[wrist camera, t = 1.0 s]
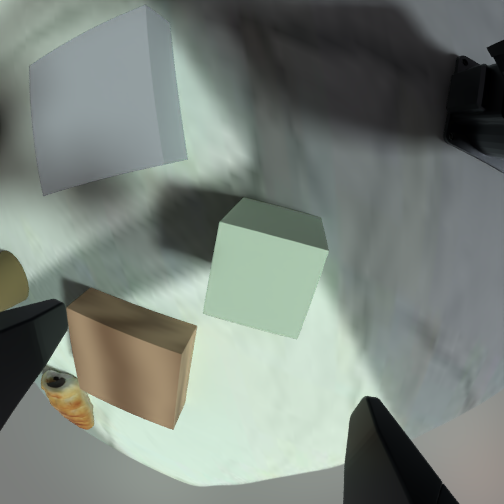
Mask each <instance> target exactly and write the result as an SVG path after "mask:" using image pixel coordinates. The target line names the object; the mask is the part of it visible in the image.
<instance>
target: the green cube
mask: <svg viewBox="0 0 504 504" xmlns="http://www.w3.org/2000/svg"><path fill="white" fill-rule="evenodd" d="M328 252H329V249H328V245H327V240H326V236H325V232H324V228H323V224H322V220H321V218H320V217H317V216H313V215H309V214H306V213H302V212H298V211H295V210H291V209H287V208H284V207H280V206H276V205H272V204H268V203H265V202H261V201H257V200H253V199H249V198H245V197H243V198H242V199H241V200H240V201H239V202H238V203H237V204H236V205H235V206H234V207H233V209H232V210H231V211H230V212H229V213H228V214H227V215H226V216H225V217H224V218H223V219H222V220H221V221H220V223H219V228H218V233H217V238H216V243H215V248H214V254H213V259H212V265H211V270H210V275H209V281H208V287H207V292H206V298H205V304H204V310H203V314H206V315H209V316H213V317H216V318H219V319H223V320H226V321H230V322H233V323H237V324H240V325H244V326H248V327H251V328H255V329H259V330H262V331H266V332H270V333H274V334H278V335H282V336H286V337H290V338H294V339H297V338H298V336H299V333H300V330H301V328H302V325H303V322H304V320H305V317H306V315H307V312H308V309H309V306H310V304H311V301H312V298H313V295H314V293H315V290H316V287H317V284H318V281H319V279H320V276H321V273H322V270H323V267H324V264H325V261H326V258H327V255H328Z"/></svg>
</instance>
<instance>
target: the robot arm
mask: <svg viewBox="0 0 504 504" xmlns="http://www.w3.org/2000/svg"><path fill="white" fill-rule="evenodd" d="M487 49H488V51H489V53H490V55H491V57H494V59H495V61H496V64H492V65H489V66H488V65H486V64H482V65H480V64H478V63H476V62H475V61H473V60H471V59H470V58H468V57H466V56H460V57H458V58H457V60H456V67H455V74H453V75H452V77H451V84H450V90H449V95H448V101H447V106H446V108H447V111H448V115H447V120H446V125H445V129H444V134H443V137H444V140H445V141H446V142H447V143H448V144H450V145H452V146H454V147H456V148H458V149H460V150H462V151H464V152H466V153H468V154H470V155H472V156H474V157H476V158H478V159H480V160H481V161H483V162H485V163H487V164H489V165H490V166H492V167H494V168H496V169H497V170H499V171H501V172H503V173H504V40H502V41H500V42H498V43H496V44H493V45H491V46H489V47H487ZM462 60H463V61H464V62H465V65H463V63H462ZM450 133H451V134H452V135H453V139H452V140H451V139H450V138H449V134H450ZM67 329H68V319H67V312H66V306H65V304H64V303H63V302H61V301H59V300H57V299H50V300H46V301H42V302H38V303H34V304H30V305H26V306H22V307H18V308H14V309H10V310H6V311H2V312H0V431H1V429H2V428H3V426H4V425H5V423H6V422H7V420H8V418H9V417H10V415H11V414H12V412H13V411H14V409H15V408H16V407H17V405H18V404H19V402H20V401H21V399H22V398H23V396H24V395H25V394H26V392H27V391H28V389H29V388H30V386H31V385H32V384H33V382H34V381H35V380H36V378H37V377H38V375H39V374H40V373H41V371H42V370H43V369H44V367H45V366H46V364H47V362H48V361H49V359H50V357H51V356H52V354H53V352H54V351H55V349H56V348H57V346H58V344H59V343H60V341H61V339H62V338H63V336H64V335H65V333H66V331H67ZM343 499H344V500H343V504H459V503H458V501H456V499H455V498H454V496H453V495H452V494H451V493H450V491H449V490H448V489H447V487H446V486H445V485H444V484H442V481H441V479H440V478H439V477H438V475H437V474H436V473H435V471H434V470H433V469H432V467H431V466H430V465H429V464H428V462H427V461H426V460H425V458H424V457H423V456H422V454H421V453H420V452H419V450H418V449H417V448H416V446H415V445H414V444H413V442H412V441H411V440H410V439H409V437H408V436H407V435H406V433H405V432H404V431H403V429H402V428H401V427H400V425H399V424H398V423H397V421H396V420H395V419H394V418H393V416H392V415H391V414H390V412H389V411H388V410H387V408H386V407H385V406H384V405H383V403H382V402H381V401H380V399H378V398H376V397H370V396H365V397H363V398H362V400H361V401H360V403H359V404H358V405H357V407H356V408H355V410H354V411H353V413H352V414H351V417H350V421H349V431H348V440H347V448H346V456H345V465H344V498H343Z"/></svg>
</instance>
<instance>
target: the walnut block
mask: <svg viewBox="0 0 504 504" xmlns="http://www.w3.org/2000/svg"><path fill="white" fill-rule="evenodd" d="M66 309H67V318H68V326H69V333H70V339H71V346H72V352H73V357H74V363H75V368H76V373H77V377H78V382H79V387H80V389H81V390H83V391H85V392H87V393H89V394H91V395H93V396H95V397H97V398H99V399H101V400H103V401H105V402H107V403H109V404H111V405H113V406H116V407H118V408H120V409H122V410H125V411H127V412H129V413H131V414H134V415H136V416H139V417H141V418H143V419H146V420H148V421H151V422H154V423H156V424H159V425H161V426H164V427H167V428H170V429H172V430H173V429H174V427H175V425H176V422H177V420H178V418H179V415H180V413H181V411H182V409H183V406H184V404H185V400H186V393H187V386H188V380H189V373H190V367H191V360H192V354H193V348H194V342H195V336H196V330H197V326H196V325H193V324H190V323H187V322H184V321H181V320H178V319H175V318H172V317H169V316H166V315H163V314H160V313H157V312H154V311H151V310H149V309H146V308H143V307H140V306H138V305H135V304H132V303H130V302H127V301H124V300H122V299H119V298H116V297H114V296H111V295H109V294H106V293H104V292H101V291H99V290H96V289H94V288H89V289H88V290H87V291H86V292H84V293H83V294H82V295H81V296H80V297H78V298H77V299H76V300H75V301H73V302H72V303H71V304H70V305H69V306H67V307H66Z"/></svg>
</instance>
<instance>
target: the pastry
mask: <svg viewBox="0 0 504 504" xmlns="http://www.w3.org/2000/svg"><path fill="white" fill-rule="evenodd" d="M41 388H42V389H43V390H45V392H46V395H47V397H48V398H49V401H50V404H51V405H52V406H53V407H54V408H55V409H56V410H58V411H59V412H60V414H61V415H63V416H64V417H65V418H67V419H69V421H70V422H72V423H74V424H76V425H77V426H78V427H80V428H83V429H86V430H88V429H90V428H92V427H93V426H94V416H93V405H92V404H91V402H90V399H89V397H88V394H87V392H85V391H83V390H81V389H80V387H79V382H78V378H75V377H74V376H72V375H70V374H65V373H59V372H56V371H53V370H49V371H46V372H45V373H44V374H43V376H42V379H41Z"/></svg>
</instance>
